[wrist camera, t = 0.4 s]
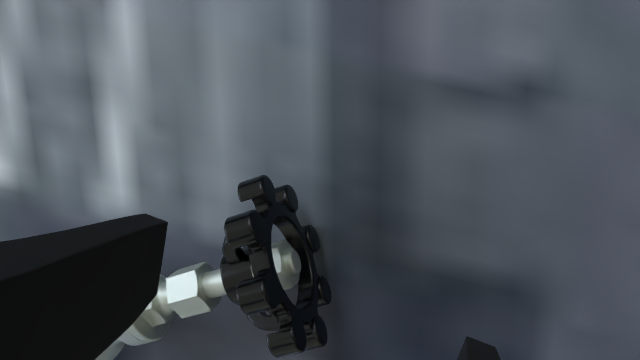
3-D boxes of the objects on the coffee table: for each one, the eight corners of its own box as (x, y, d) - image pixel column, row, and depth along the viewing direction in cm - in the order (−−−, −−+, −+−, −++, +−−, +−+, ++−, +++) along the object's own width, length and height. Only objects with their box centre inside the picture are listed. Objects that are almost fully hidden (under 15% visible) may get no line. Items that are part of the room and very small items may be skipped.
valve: (112, 364, 28) (344, 306, 24) (10, 455, 22) (303, 394, 18) (57, 237, 27) (290, 158, 24) (-65, 292, 21) (228, 196, 17)
